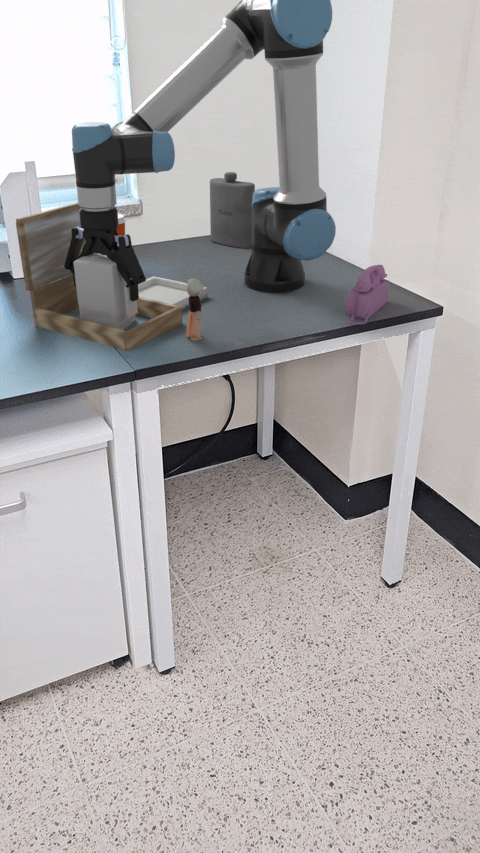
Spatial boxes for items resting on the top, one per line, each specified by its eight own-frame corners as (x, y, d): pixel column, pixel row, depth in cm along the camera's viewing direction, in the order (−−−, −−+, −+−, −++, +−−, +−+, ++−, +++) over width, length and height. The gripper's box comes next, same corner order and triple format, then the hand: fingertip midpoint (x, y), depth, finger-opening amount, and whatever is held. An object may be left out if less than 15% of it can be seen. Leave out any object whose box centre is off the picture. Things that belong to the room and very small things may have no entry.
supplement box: (137, 320, 158) (132, 253, 150) (118, 335, 151) (112, 265, 143) (100, 315, 160) (93, 249, 153) (79, 330, 153) (72, 261, 146)
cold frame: (182, 323, 156) (178, 218, 145) (128, 352, 143) (118, 238, 131) (89, 301, 169) (79, 202, 158) (31, 325, 155) (15, 219, 144)
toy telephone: (365, 299, 171) (369, 257, 166) (391, 303, 168) (396, 261, 163) (335, 322, 158) (339, 278, 153) (363, 328, 155) (367, 283, 150)
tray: (207, 297, 171) (207, 287, 170) (166, 318, 159) (166, 307, 158) (154, 286, 178) (153, 276, 177) (111, 304, 167) (110, 294, 165)
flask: (205, 241, 214) (204, 171, 204) (217, 237, 218) (217, 168, 208) (245, 250, 206) (245, 177, 196) (257, 245, 210) (258, 174, 200)
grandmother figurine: (180, 333, 151) (177, 274, 145) (197, 330, 153) (195, 272, 147) (193, 346, 145) (191, 286, 139) (210, 343, 147) (209, 283, 140)
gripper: (159, 211, 140) (164, 314, 151) (65, 196, 152) (76, 293, 162) (134, 219, 135) (142, 325, 145) (39, 202, 146) (52, 302, 157)
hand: (107, 308), depth 154 cm, fingers open, 13 cm apart
